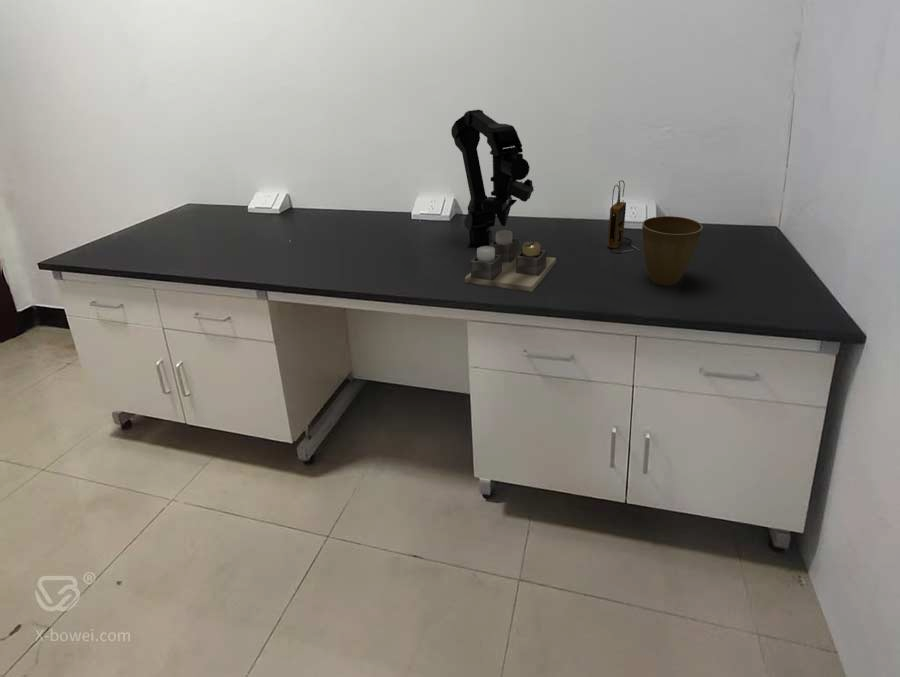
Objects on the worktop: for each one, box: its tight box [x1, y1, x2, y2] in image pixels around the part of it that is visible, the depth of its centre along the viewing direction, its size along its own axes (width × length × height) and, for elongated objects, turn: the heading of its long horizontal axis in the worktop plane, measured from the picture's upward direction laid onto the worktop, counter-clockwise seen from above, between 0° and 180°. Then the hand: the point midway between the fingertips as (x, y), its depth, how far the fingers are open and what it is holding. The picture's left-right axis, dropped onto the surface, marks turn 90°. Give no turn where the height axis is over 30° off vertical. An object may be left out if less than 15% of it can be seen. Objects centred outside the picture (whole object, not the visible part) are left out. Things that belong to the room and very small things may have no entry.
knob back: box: [495, 229, 513, 246], centre depth 179 cm, size 5×5×5 cm
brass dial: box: [521, 241, 541, 258], centre depth 169 cm, size 5×5×5 cm
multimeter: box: [607, 180, 640, 255], centre depth 183 cm, size 15×10×20 cm
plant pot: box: [641, 215, 703, 287], centre depth 160 cm, size 15×15×16 cm
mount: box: [464, 237, 557, 293], centre depth 173 cm, size 20×22×6 cm
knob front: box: [476, 246, 495, 263], centre depth 168 cm, size 5×5×5 cm
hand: (503, 225), depth 177 cm, fingers closed
